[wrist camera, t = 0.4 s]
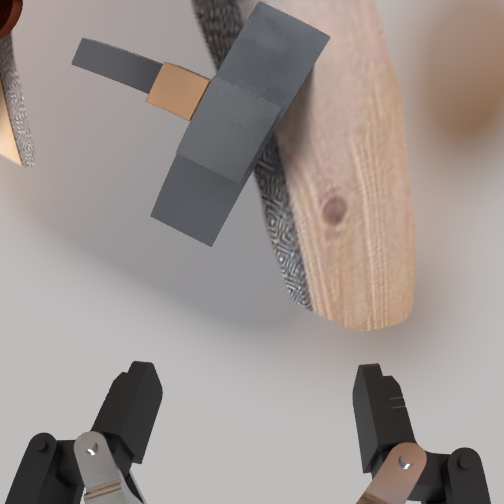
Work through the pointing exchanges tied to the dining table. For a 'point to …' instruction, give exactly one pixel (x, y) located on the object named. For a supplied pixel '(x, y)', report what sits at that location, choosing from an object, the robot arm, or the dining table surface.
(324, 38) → the housing
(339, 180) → the dining table surface
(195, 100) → the plug
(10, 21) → the motor
